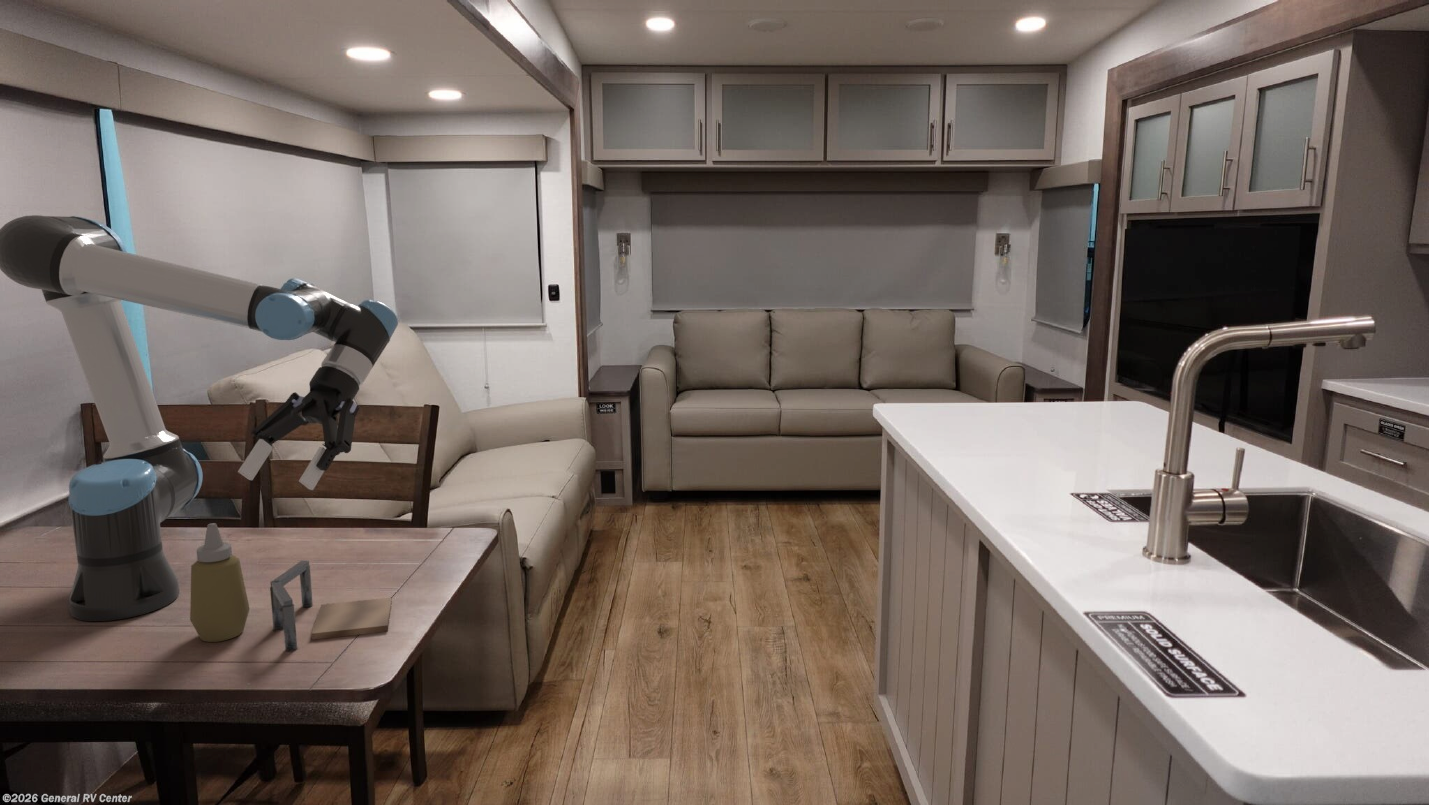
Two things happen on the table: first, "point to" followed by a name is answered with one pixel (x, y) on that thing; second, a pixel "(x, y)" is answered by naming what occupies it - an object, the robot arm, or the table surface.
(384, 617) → the pad
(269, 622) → the table surface
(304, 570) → the gray angled arch frame
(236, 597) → the squeeze bottle
